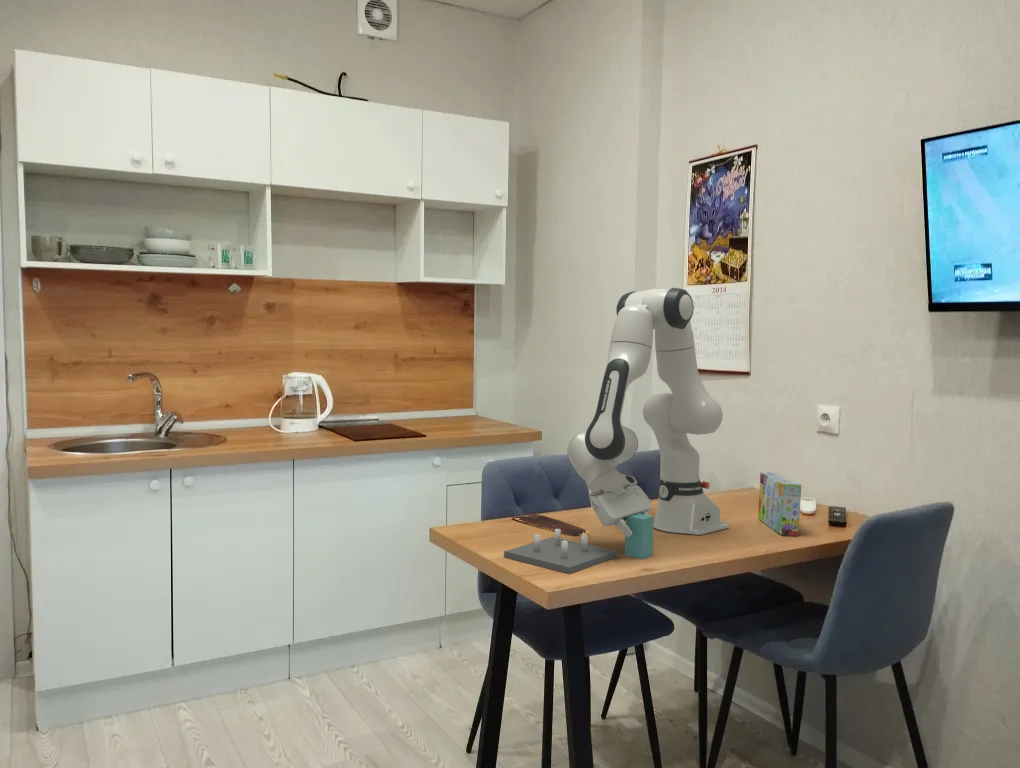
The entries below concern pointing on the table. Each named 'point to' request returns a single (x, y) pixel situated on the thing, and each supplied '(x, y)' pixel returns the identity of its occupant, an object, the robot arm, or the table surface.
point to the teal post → (639, 536)
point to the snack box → (779, 503)
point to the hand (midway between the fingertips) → (641, 532)
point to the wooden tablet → (551, 524)
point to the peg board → (560, 553)
